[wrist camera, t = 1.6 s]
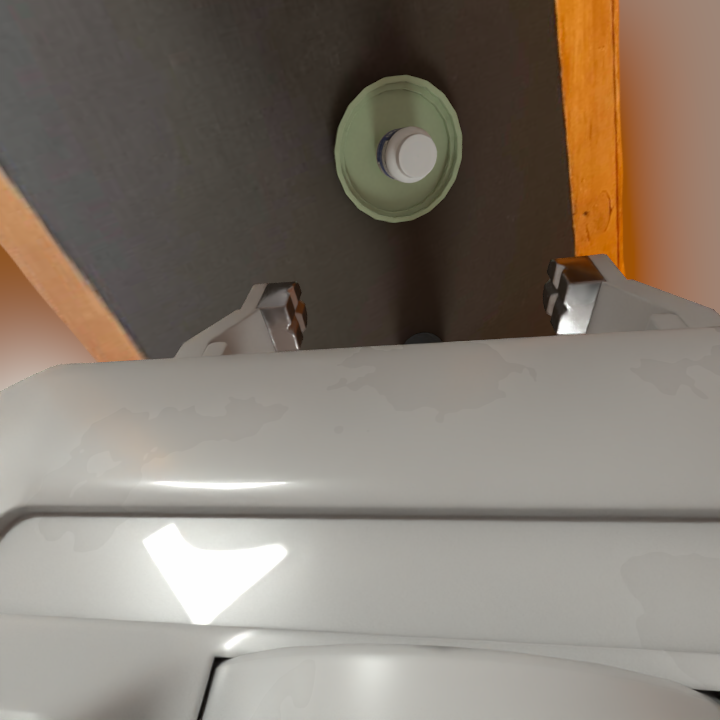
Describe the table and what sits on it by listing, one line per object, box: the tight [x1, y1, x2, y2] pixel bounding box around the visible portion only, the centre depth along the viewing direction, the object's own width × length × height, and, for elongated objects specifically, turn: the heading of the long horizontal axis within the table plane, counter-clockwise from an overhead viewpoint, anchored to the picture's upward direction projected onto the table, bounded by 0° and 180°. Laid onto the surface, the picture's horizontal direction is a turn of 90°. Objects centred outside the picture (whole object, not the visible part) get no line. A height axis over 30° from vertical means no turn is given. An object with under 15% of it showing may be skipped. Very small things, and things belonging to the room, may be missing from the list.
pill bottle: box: [376, 126, 437, 183], centre depth 43 cm, size 5×5×10 cm
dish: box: [333, 75, 462, 223], centre depth 47 cm, size 15×15×2 cm
